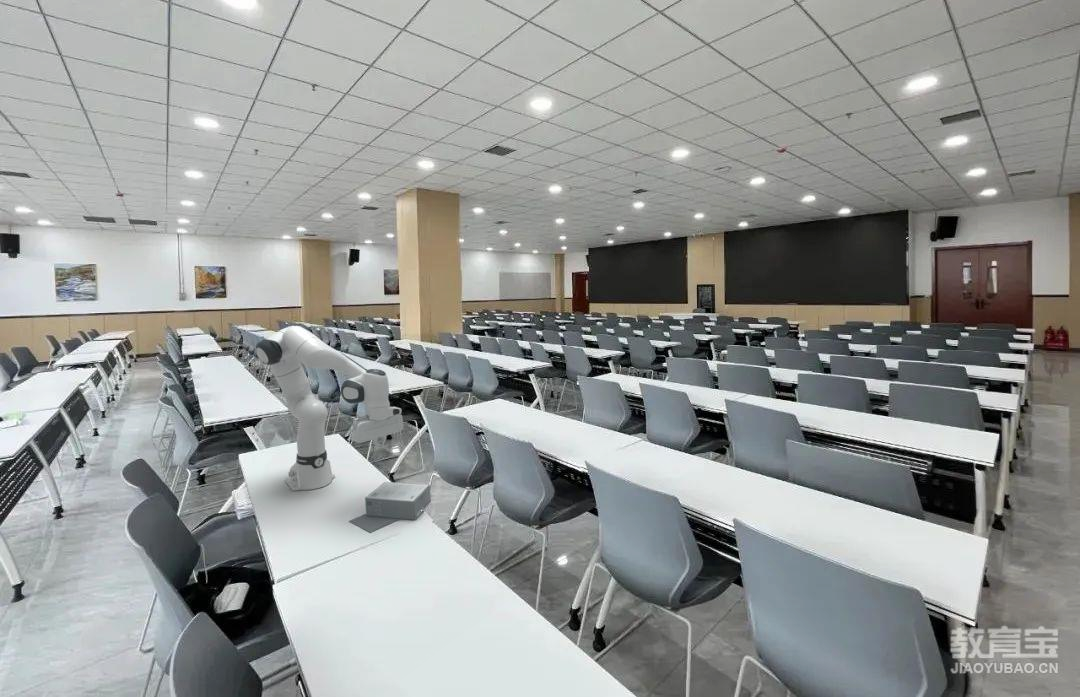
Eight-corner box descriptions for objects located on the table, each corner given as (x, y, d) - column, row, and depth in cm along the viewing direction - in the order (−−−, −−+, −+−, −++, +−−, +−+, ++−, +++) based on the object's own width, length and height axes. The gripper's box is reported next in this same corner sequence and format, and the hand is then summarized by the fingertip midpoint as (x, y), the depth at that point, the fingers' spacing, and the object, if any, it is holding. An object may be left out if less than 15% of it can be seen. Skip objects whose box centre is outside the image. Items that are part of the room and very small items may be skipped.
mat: (348, 521, 188) (348, 520, 188) (398, 500, 205) (398, 500, 204) (370, 533, 179) (370, 532, 179) (420, 510, 196) (420, 509, 196)
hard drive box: (365, 516, 191) (414, 520, 187) (363, 497, 190) (413, 501, 186) (385, 498, 206) (431, 501, 202) (384, 480, 205) (430, 483, 201)
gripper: (357, 420, 179) (360, 457, 181) (405, 408, 195) (406, 442, 197) (347, 417, 183) (350, 454, 185) (394, 405, 199) (396, 439, 201)
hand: (379, 448), depth 191 cm, fingers closed
